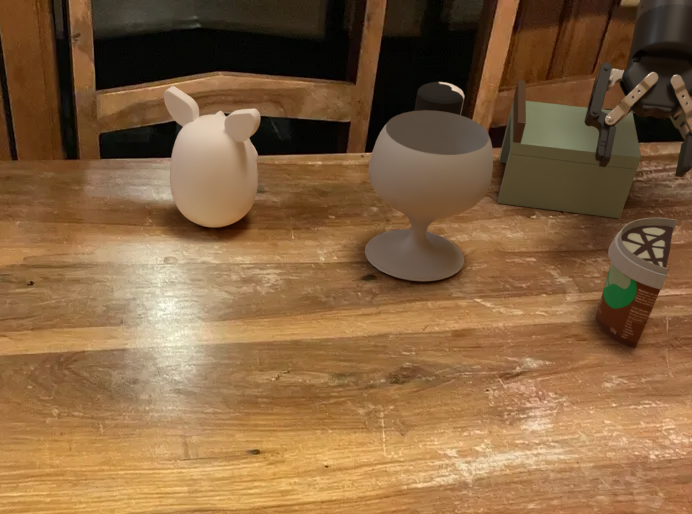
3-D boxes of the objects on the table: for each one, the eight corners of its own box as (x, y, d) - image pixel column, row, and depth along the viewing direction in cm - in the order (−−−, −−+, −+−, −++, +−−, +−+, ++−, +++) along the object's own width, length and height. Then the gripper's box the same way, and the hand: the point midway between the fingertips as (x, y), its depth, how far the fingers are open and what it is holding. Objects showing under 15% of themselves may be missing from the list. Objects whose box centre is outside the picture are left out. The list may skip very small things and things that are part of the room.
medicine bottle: (423, 198, 125) (441, 103, 116) (388, 176, 129) (402, 83, 120) (461, 184, 128) (481, 91, 119) (425, 164, 132) (442, 72, 122)
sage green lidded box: (612, 171, 132) (639, 92, 124) (619, 218, 123) (648, 137, 115) (499, 158, 134) (518, 79, 126) (497, 203, 125) (518, 121, 117)
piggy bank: (269, 205, 122) (277, 82, 111) (248, 249, 115) (253, 122, 103) (179, 191, 124) (177, 69, 112) (151, 233, 116) (146, 107, 105)
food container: (592, 287, 112) (621, 206, 104) (645, 298, 110) (678, 217, 103) (578, 341, 104) (607, 258, 97) (634, 354, 103) (668, 271, 95)
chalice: (364, 287, 110) (382, 159, 98) (351, 228, 119) (366, 104, 108) (481, 289, 111) (513, 161, 99) (459, 230, 120) (486, 107, 108)
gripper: (616, -6, 101) (587, 147, 102) (752, 8, 99) (721, 164, 101) (597, 31, 108) (570, 174, 109) (723, 45, 107) (695, 190, 108)
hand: (642, 169), depth 105 cm, fingers open, 8 cm apart
